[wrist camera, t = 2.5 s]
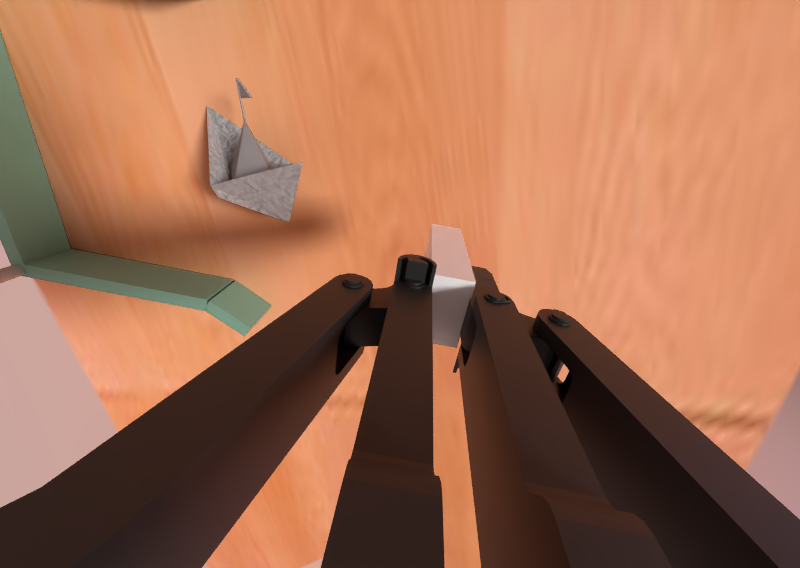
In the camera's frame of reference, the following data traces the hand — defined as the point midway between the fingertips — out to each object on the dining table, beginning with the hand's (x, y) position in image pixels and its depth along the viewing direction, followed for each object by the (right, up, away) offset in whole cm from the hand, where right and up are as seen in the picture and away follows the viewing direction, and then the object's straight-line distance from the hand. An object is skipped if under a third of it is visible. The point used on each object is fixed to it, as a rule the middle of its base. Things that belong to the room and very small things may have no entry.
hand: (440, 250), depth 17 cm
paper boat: (-12, +9, +8) cm, 17 cm away
